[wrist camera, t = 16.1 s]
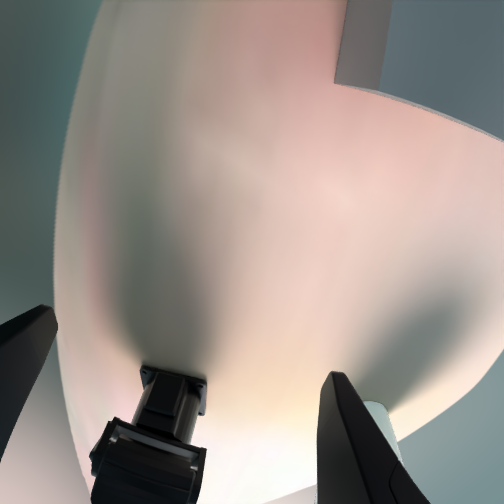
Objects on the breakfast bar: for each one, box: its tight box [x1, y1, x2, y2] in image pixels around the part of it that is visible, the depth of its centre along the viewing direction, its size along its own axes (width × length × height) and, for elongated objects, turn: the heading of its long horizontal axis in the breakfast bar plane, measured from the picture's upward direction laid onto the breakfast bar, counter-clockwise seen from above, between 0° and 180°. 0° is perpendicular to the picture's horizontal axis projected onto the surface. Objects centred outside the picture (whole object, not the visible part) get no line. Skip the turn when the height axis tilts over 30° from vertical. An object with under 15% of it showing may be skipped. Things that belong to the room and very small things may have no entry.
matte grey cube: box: [334, 0, 504, 143], centre depth 8 cm, size 8×8×9 cm
